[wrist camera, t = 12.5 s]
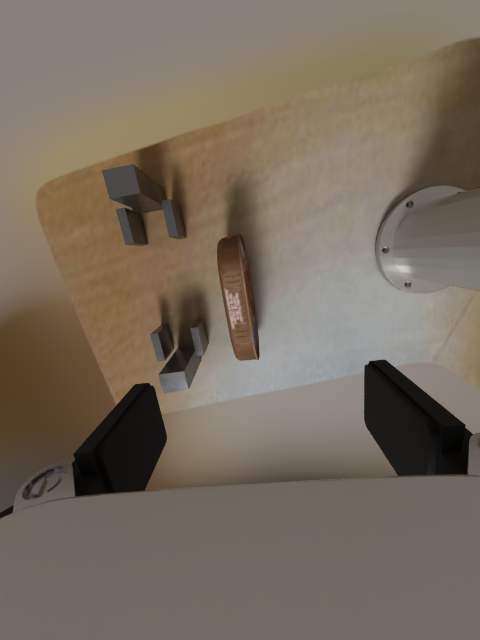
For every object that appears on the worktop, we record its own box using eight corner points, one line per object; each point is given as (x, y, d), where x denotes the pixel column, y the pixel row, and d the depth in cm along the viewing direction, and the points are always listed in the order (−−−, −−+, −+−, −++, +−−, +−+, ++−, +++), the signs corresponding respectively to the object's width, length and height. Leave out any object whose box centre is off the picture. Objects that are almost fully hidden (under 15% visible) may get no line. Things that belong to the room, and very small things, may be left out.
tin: (259, 344, 35) (264, 372, 27) (238, 347, 35) (236, 375, 27) (244, 236, 31) (243, 229, 23) (220, 239, 31) (211, 235, 23)
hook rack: (175, 185, 29) (150, 160, 22) (211, 358, 35) (202, 388, 28) (127, 194, 30) (85, 173, 22) (171, 364, 36) (150, 394, 28)
